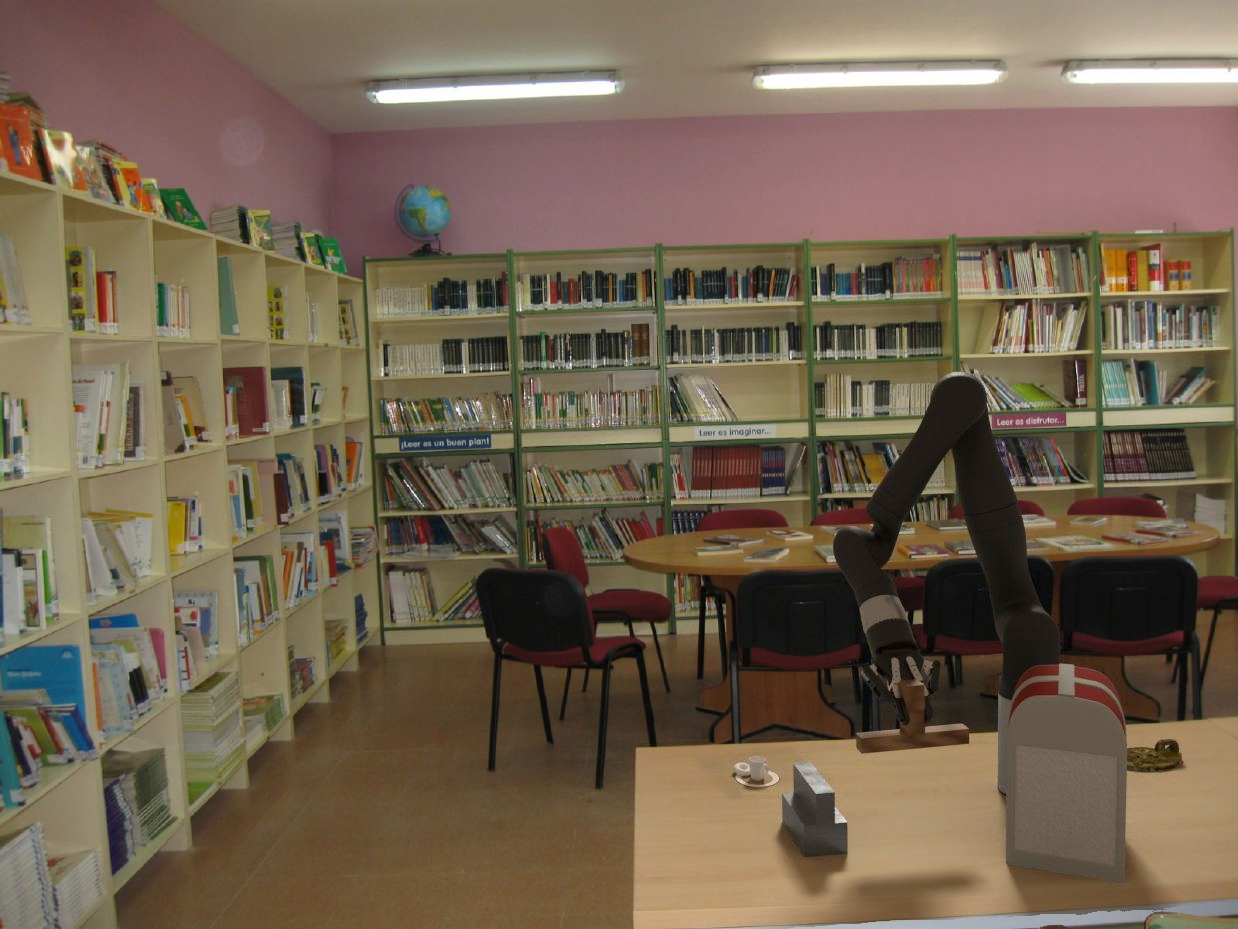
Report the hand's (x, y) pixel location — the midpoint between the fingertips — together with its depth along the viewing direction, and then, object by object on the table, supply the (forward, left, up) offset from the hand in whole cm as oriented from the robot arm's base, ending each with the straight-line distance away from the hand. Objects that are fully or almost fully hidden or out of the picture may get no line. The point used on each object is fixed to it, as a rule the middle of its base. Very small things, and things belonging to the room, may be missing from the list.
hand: (917, 721), depth 160 cm
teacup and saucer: (+30, -16, -19) cm, 39 cm away
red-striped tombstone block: (-22, -3, -19) cm, 29 cm away
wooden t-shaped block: (+1, -2, -5) cm, 5 cm away
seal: (-36, -44, -19) cm, 60 cm away
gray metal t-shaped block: (+15, +7, -19) cm, 25 cm away
